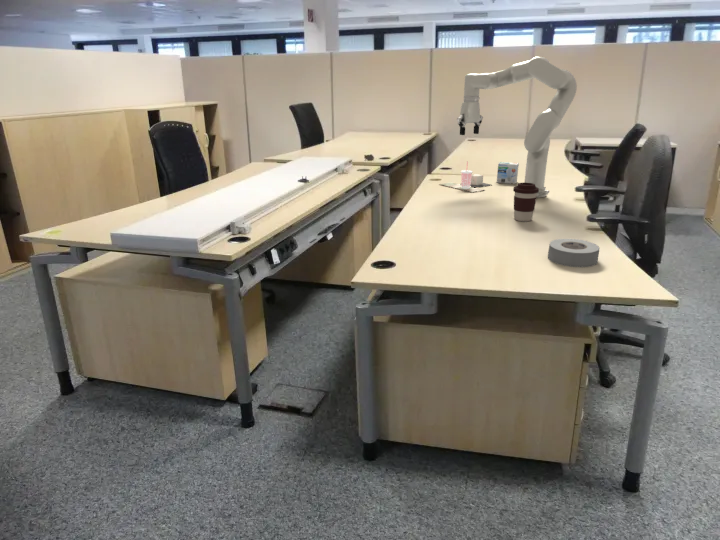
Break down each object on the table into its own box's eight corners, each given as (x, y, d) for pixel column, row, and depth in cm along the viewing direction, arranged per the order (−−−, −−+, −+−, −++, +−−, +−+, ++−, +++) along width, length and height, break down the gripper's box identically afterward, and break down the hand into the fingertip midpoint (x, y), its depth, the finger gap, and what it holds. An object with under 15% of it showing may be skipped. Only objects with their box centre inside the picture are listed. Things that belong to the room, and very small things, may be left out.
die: (482, 184, 294) (483, 175, 292) (476, 185, 291) (476, 176, 289) (475, 183, 298) (476, 173, 296) (469, 184, 295) (470, 174, 293)
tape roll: (587, 271, 165) (589, 255, 163) (539, 260, 174) (541, 245, 172) (604, 259, 175) (606, 244, 174) (558, 249, 185) (560, 235, 183)
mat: (491, 185, 293) (491, 184, 293) (475, 187, 287) (475, 187, 287) (476, 182, 302) (476, 181, 302) (460, 184, 296) (460, 183, 296)
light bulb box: (496, 182, 301) (497, 163, 297) (498, 180, 307) (499, 161, 303) (515, 183, 297) (517, 164, 293) (517, 181, 303) (519, 162, 299)
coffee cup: (522, 223, 217) (526, 187, 212) (505, 218, 225) (508, 183, 220) (540, 220, 221) (544, 184, 216) (523, 215, 229) (526, 180, 224)
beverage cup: (470, 186, 288) (471, 160, 283) (472, 189, 282) (474, 162, 277) (458, 186, 288) (460, 160, 283) (461, 189, 282) (462, 162, 277)
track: (484, 190, 280) (484, 189, 280) (472, 192, 275) (472, 191, 275) (451, 183, 300) (451, 182, 300) (438, 184, 296) (438, 184, 296)
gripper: (478, 99, 277) (476, 132, 283) (453, 100, 268) (451, 134, 274) (488, 99, 271) (486, 133, 277) (463, 100, 262) (461, 136, 268)
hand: (469, 134), depth 276 cm, fingers open, 9 cm apart
